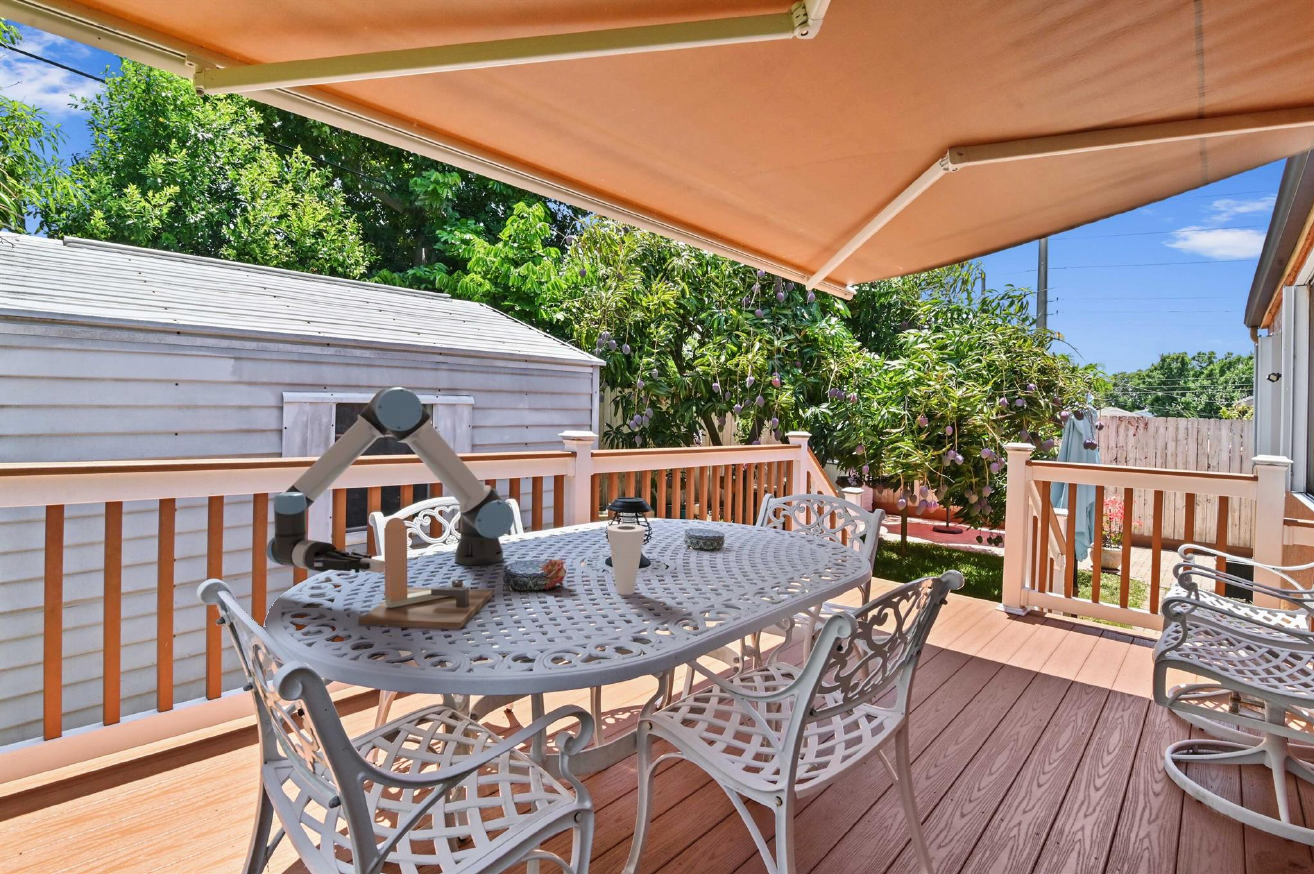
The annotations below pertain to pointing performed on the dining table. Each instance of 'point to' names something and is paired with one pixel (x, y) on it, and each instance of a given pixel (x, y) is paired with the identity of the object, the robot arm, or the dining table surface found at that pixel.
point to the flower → (554, 572)
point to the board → (427, 611)
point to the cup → (625, 555)
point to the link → (399, 567)
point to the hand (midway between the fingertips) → (381, 566)
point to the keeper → (454, 593)
